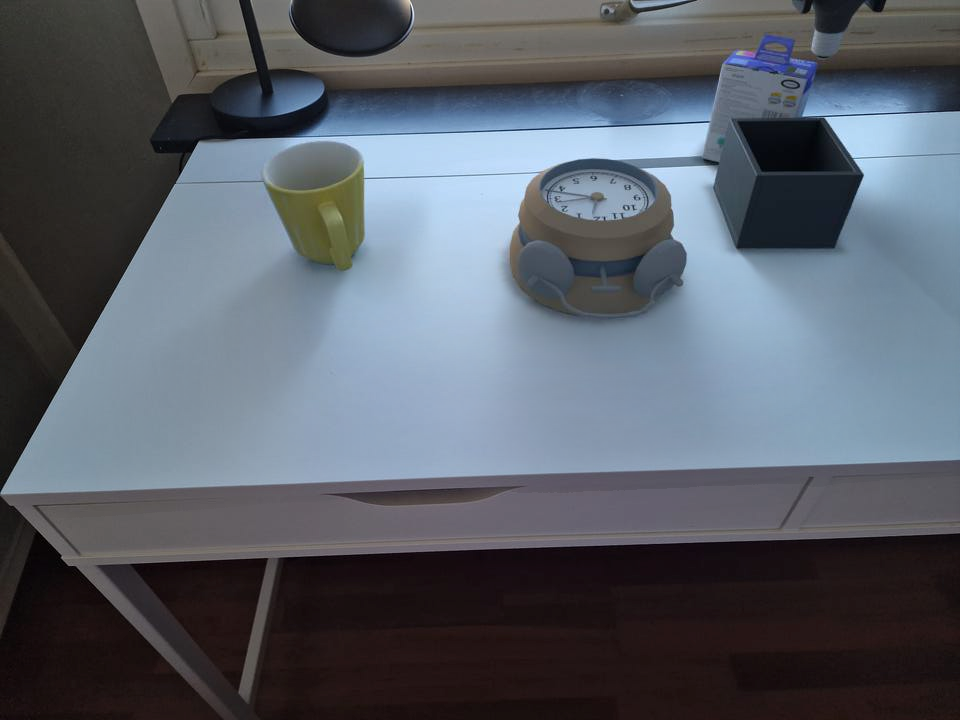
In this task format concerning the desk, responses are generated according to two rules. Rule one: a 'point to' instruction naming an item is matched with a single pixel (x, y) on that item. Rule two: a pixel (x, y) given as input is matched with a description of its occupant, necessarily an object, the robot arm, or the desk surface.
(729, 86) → the ink cartridge box
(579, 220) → the alarm clock
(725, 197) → the trash bin
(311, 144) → the mug
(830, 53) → the light bulb
